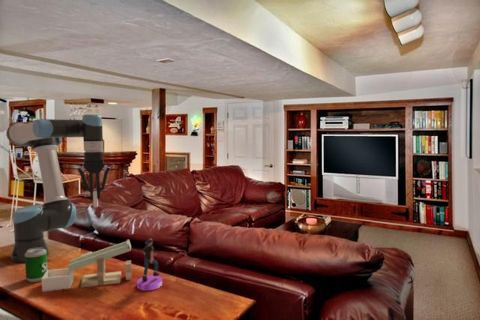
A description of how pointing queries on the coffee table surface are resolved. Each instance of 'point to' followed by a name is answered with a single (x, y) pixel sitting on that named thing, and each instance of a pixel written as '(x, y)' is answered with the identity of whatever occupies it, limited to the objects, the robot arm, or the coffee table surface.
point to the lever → (106, 253)
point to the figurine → (150, 280)
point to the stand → (105, 275)
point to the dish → (57, 280)
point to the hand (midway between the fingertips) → (95, 206)
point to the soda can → (35, 264)
